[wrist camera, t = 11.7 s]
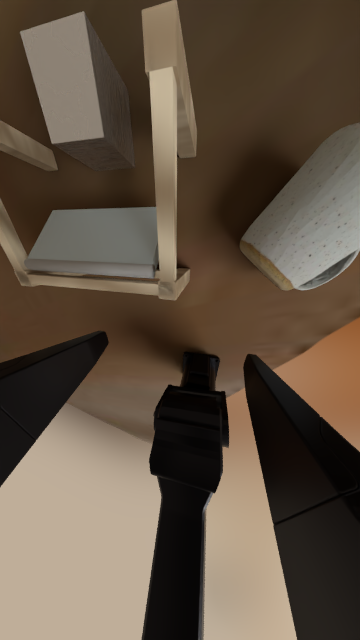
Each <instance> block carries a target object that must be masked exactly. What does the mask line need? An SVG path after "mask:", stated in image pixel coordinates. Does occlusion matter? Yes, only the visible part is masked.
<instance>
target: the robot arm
mask: <svg viewBox="0 0 360 640" xmlns="http://www.w3.org/2000/svg"><path fill="white" fill-rule="evenodd" d="M107 345H108V338H107V335H106V332H104V331H97V332H94V333H91V334H87V335H84V336H81V337H78V338H75V339H72V340H69V341H66V342H63V343H60V344H57V345H54V346H51V347H48V348H45V349H42V350H39V351H36V352H33V353H30V354H27V355H24V356H21V357H18V358H15V359H12V360H8V361H5V362H2V363H0V487H1V485H2V484H3V483H4V481H5V480H6V479H7V478H8V476H9V475H10V474H11V472H12V471H13V470H14V469H15V467H16V466H17V465H18V463H19V462H20V461H21V459H22V458H23V457H24V456H25V454H26V453H27V452H28V451H29V449H30V448H31V446H32V445H33V444H34V443H35V442H36V440H37V439H38V437H39V436H40V435H41V434H42V432H43V431H44V430H45V428H46V427H47V426H48V425H49V423H50V422H51V420H52V419H53V418H54V417H55V416H56V414H57V413H58V412H59V410H60V409H61V408H62V407H63V405H64V404H65V403H66V401H67V400H68V399H69V398H70V396H71V395H72V394H73V392H74V391H75V390H76V389H77V387H78V386H79V385H80V383H81V382H82V381H83V380H84V378H85V377H86V376H87V374H88V373H89V372H90V371H91V369H92V368H93V367H94V365H95V364H96V362H97V361H98V359H99V358H100V356H101V355H102V353H103V352H104V350H105V348H106V347H107ZM219 362H220V359H219V358H218V357H214V356H207V355H201V354H195V353H189V352H185V353H184V355H183V376H182V380H181V384H180V386H172V385H168V387H167V388H166V390H165V392H164V393H163V395H162V397H161V399H160V401H159V403H158V404H157V406H156V409H155V412H154V430H155V435H154V441H153V445H152V450H151V454H150V458H149V463H150V471H151V474H152V475H155V476H157V478H158V482H159V487H160V491H161V497H162V498H161V507H160V514H159V521H158V528H157V535H156V542H155V549H154V557H153V563H152V570H151V578H150V584H149V592H148V598H147V605H146V612H145V620H144V627H143V634H142V640H203V630H204V587H205V541H206V507H207V505H208V503H209V501H210V499H211V497H212V495H213V493H215V492H216V489H217V487H218V485H219V482H220V479H221V476H222V473H223V460H222V459H223V455H222V446H223V447H229V425H228V412H227V404H226V395H225V391H221V392H220V391H215V381H216V376H217V371H218V367H219ZM243 369H244V380H245V390H246V398H247V403H248V407H249V412H250V417H251V421H252V426H253V431H254V436H255V441H256V445H257V450H258V455H259V459H260V464H261V469H262V473H263V479H264V483H265V488H266V493H267V497H268V502H269V507H270V511H271V516H272V521H273V524H274V531H275V536H276V541H277V546H278V550H279V555H280V560H281V565H282V569H283V574H284V579H285V583H286V588H287V593H288V598H289V603H290V607H291V612H292V617H293V622H294V626H295V631H296V636H297V640H360V452H359V451H358V450H357V449H356V448H355V447H354V446H352V445H351V444H350V443H349V442H348V441H347V440H346V439H345V438H343V436H342V435H340V434H339V433H338V432H337V431H336V430H335V429H334V428H333V427H332V426H331V425H330V424H329V423H328V422H326V421H325V420H324V419H323V418H322V417H320V415H319V414H318V413H317V412H316V411H315V410H314V409H313V408H311V406H309V405H308V404H307V403H306V402H305V401H304V400H303V399H302V398H301V397H300V396H299V395H298V394H297V393H296V392H295V391H294V390H293V389H291V388H290V387H289V386H288V385H287V384H286V383H285V382H284V381H283V380H282V379H281V378H280V377H279V376H278V375H277V374H276V373H275V372H274V371H272V370H271V369H270V368H269V367H268V366H267V365H266V364H265V363H264V362H263V361H262V360H261V359H260V358H259V357H258V356H257V355H254V354H247V356H246V359H245V362H244V367H243Z"/></svg>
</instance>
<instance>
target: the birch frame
mask: <svg viewBox="0 0 360 640" xmlns="http://www.w3.org/2000/svg"><path fill="white" fill-rule="evenodd" d="M142 21H143V38H144V55H145V71H146V75H147V77H148V80H149V82H150V95H151V115H152V134H153V153H154V173H155V192H156V211H157V231H158V250H159V269H156V273H155V277H154V278H160V280H159V281H158V282H155V281H141V280H128V279H114V278H100V277H86V276H81V275H85V274H80V273H66V272H51V271H37V270H30V269H28V268H27V267H26V266H25V264H24V261H25V259H27V258H28V256H27V254H26V252H25V250H24V248H23V245H22V243H21V241H20V239H19V237H18V235H17V233H16V231H15V228H14V226H13V224H12V222H11V220H10V218H9V216H8V214H7V211H6V209H5V207H4V205H3V203H2V201H1V199H0V244H1V246H2V247H3V249H4V251H5V253H6V255H7V257H8V259H9V260H10V262H11V264H12V266H13V268H14V270H15V271H14V272H15V274H16V276H17V278H18V280H19V282H20V283H21V285H22V286H37V285H50V286H60V287H71V288H82V289H93V290H104V291H115V292H126V293H137V294H148V295H159V299H168V300H176V299H177V298H178V296H179V295H180V293H181V292H182V291H183V289H184V288H185V286H186V285H187V284H188V282H189V281H190V269H188V268H178V269H176V239H177V152H178V155H179V157H180V158H189V157H196V143H197V128H196V122H195V115H194V109H193V102H192V96H191V90H190V83H189V77H188V70H187V64H186V57H185V51H184V44H183V38H182V31H181V25H180V18H179V12H178V6H177V0H173V1H170V2H166V3H163V4H160V5H157V6H154V7H150V8H147V9H144V10H142ZM0 150H1V151H3V152H5V153H8V154H10V155H12V156H14V157H17V158H19V159H21V160H23V161H26V162H28V163H30V164H32V165H35V166H37V167H39V168H41V169H44V170H46V171H55V170H58V168H57V164H56V161H55V158H54V154H53V151H52V150H51V149H49V148H47V147H45V146H44V145H42V144H40V143H39V142H37V141H35V140H33V139H32V138H30V137H28V136H27V135H25V134H23V133H21V132H20V131H18V130H16V129H15V128H13V127H11V126H9V125H8V124H6V123H4V122H3V121H1V120H0Z"/></svg>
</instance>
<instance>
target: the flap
mask: <svg viewBox="0 0 360 640" xmlns="http://www.w3.org/2000/svg"><path fill="white" fill-rule="evenodd" d="M158 260H159V250H158V231H157V211H156V207H139V208H107V209H76V210H53V211H52V213H51V215H50V216H49V218H48V220H47V222H46V224H45V226H44V228H43V230H42V232H41V233H40V235H39V237H38V239H37V241H36V243H35V245H34V247H33V248H32V250H31V252H30V254H29V256H28V258H27V259H25V261H24V264H25V266H26V267H27V268H28V269H30V270H37V271H51V272H66V273H80V274H95V275H110V276H124V277H139V278H154V277H155V273H156V268H157V264H158Z"/></svg>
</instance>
